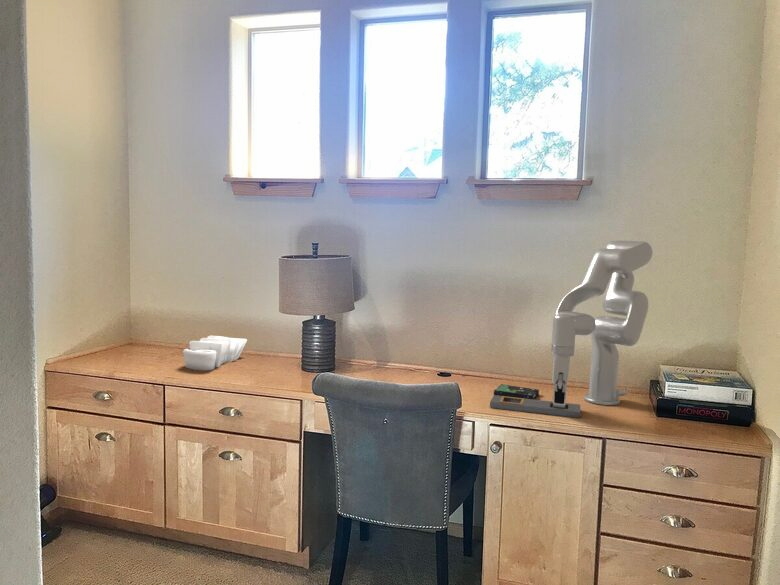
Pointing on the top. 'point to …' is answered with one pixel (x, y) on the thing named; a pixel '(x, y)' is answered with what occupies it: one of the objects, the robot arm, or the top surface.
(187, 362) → the wavy white extrusion
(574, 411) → the grey slotted board
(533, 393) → the disk drive
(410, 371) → the top surface
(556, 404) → the peg
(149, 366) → the top surface
